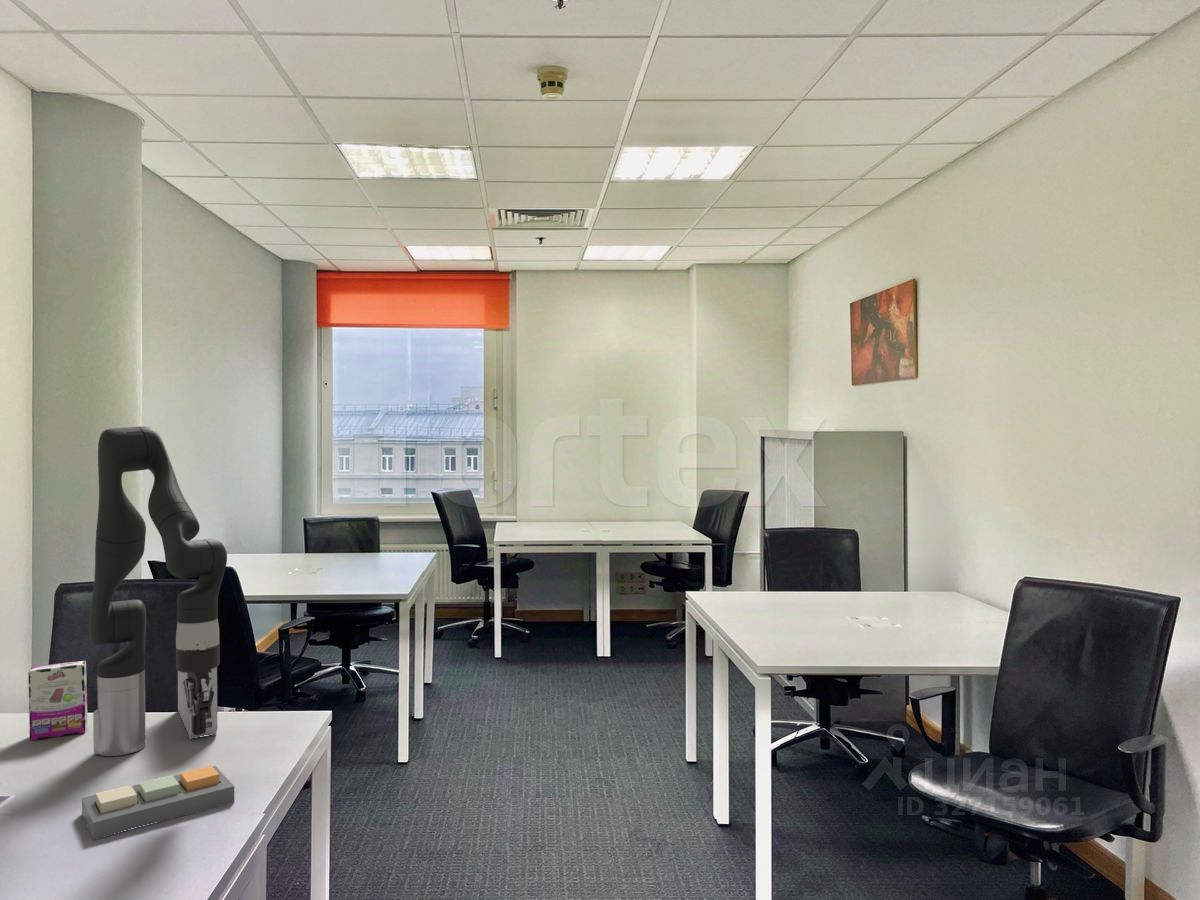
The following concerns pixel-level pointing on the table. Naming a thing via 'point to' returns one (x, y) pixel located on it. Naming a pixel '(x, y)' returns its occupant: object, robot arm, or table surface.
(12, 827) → the table surface
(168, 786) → the sage key
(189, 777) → the orange key
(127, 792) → the beige key
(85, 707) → the candy bar box
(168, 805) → the keypad
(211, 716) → the game console
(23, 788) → the table surface
